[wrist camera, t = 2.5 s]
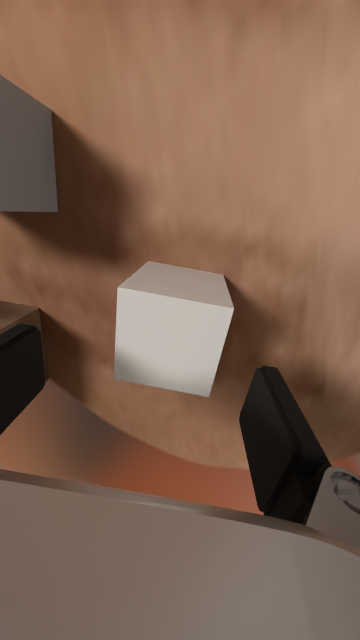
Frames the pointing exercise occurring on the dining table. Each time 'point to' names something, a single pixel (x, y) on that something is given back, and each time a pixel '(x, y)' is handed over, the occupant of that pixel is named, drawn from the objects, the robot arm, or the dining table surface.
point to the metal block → (20, 320)
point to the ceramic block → (171, 327)
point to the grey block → (25, 152)
